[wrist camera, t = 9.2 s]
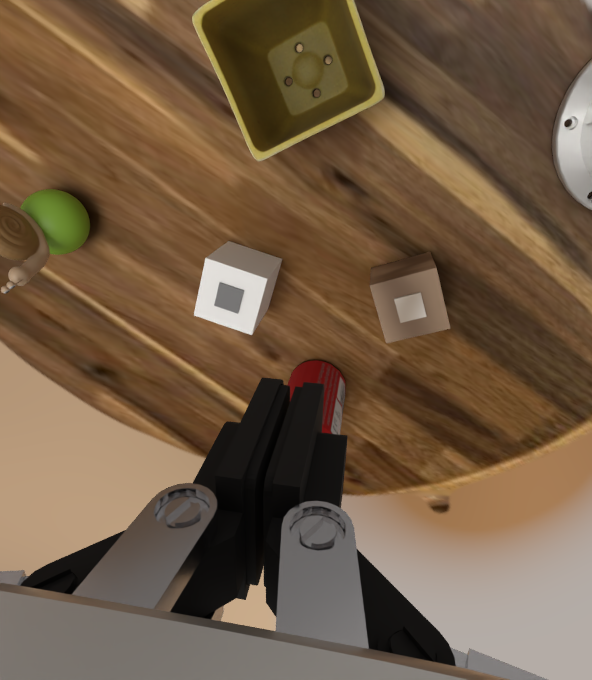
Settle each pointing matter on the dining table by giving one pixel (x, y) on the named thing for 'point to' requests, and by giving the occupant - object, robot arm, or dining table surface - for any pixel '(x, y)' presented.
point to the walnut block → (409, 298)
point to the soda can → (332, 390)
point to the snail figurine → (40, 231)
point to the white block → (237, 286)
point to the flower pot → (288, 66)
